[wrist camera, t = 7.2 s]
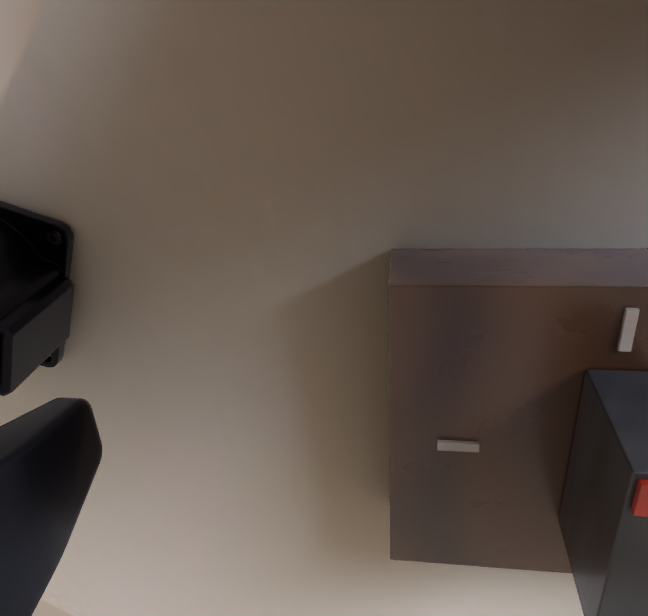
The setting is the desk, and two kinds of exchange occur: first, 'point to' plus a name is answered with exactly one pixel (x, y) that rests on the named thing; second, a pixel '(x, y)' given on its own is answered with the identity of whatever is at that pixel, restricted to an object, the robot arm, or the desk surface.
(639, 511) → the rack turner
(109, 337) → the desk surface
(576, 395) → the base
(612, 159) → the desk surface
